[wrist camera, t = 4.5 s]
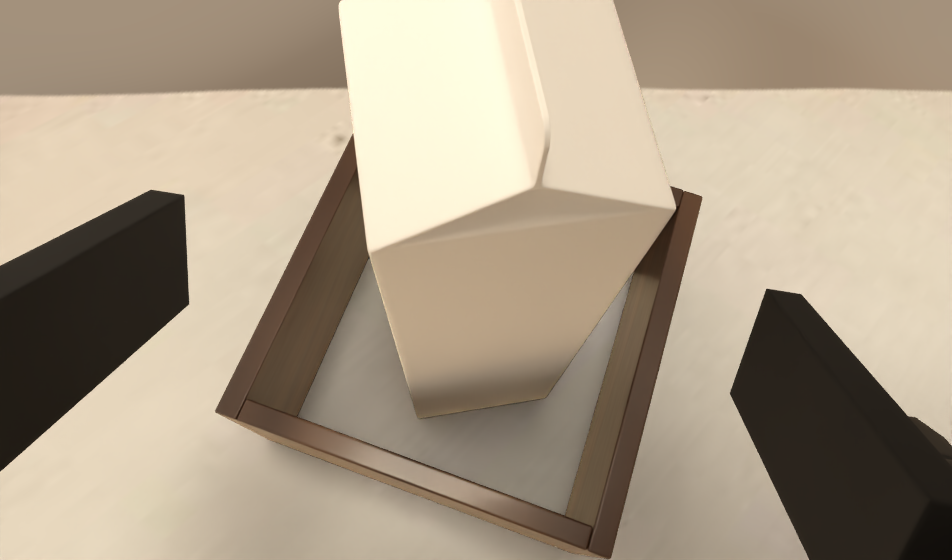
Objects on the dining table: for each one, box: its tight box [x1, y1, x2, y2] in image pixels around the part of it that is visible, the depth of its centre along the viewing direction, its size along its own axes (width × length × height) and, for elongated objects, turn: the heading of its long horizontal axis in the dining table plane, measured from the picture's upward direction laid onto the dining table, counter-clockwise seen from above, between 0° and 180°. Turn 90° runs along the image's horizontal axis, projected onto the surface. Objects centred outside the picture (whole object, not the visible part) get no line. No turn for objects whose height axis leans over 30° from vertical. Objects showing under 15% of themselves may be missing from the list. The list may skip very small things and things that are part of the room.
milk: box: [339, 0, 676, 418], centre depth 21 cm, size 6×6×22 cm
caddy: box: [215, 134, 702, 559], centre depth 28 cm, size 14×14×7 cm
